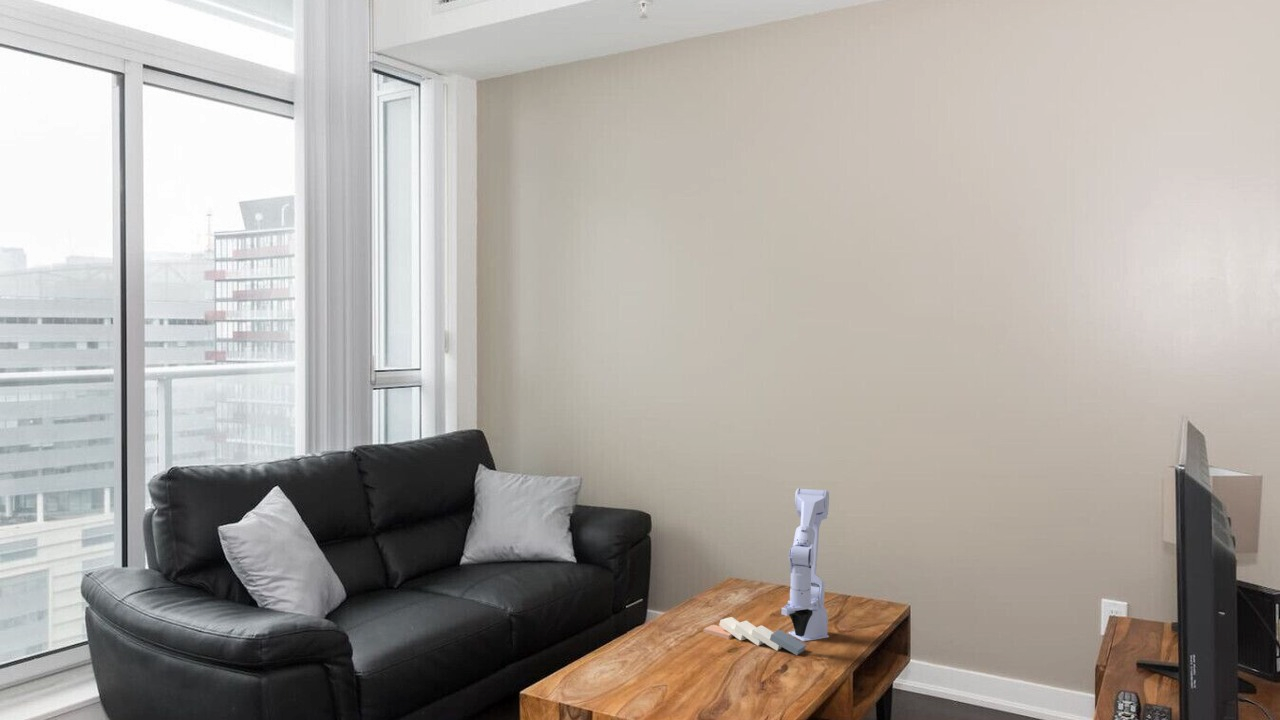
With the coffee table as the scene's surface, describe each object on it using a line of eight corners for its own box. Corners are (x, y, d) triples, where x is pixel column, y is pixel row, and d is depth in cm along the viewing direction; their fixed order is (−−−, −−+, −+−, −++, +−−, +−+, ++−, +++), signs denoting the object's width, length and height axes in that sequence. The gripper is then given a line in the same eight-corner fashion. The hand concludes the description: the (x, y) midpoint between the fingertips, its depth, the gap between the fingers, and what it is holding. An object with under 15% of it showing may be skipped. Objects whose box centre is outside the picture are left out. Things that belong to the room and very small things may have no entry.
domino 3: (769, 636, 273) (746, 620, 279) (759, 640, 269) (736, 624, 275) (767, 641, 274) (744, 625, 279) (757, 645, 270) (734, 629, 276)
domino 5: (806, 644, 266) (779, 629, 271) (798, 649, 262) (771, 634, 267) (804, 650, 267) (777, 634, 271) (796, 655, 263) (769, 639, 267)
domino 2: (753, 631, 277) (731, 616, 283) (742, 635, 273) (720, 619, 280) (751, 637, 277) (730, 622, 283) (740, 640, 274) (719, 625, 280)
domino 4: (787, 640, 270) (761, 625, 275) (778, 645, 266) (752, 629, 271) (785, 646, 270) (759, 630, 275) (777, 650, 266) (751, 634, 271)
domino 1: (737, 630, 279) (712, 624, 285) (728, 635, 275) (703, 628, 281) (737, 636, 279) (712, 630, 285) (728, 641, 276) (703, 634, 281)
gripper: (805, 580, 272) (804, 626, 273) (773, 589, 262) (772, 637, 263) (825, 585, 267) (824, 632, 267) (793, 595, 257) (792, 643, 258)
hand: (799, 635), depth 265 cm, fingers closed
